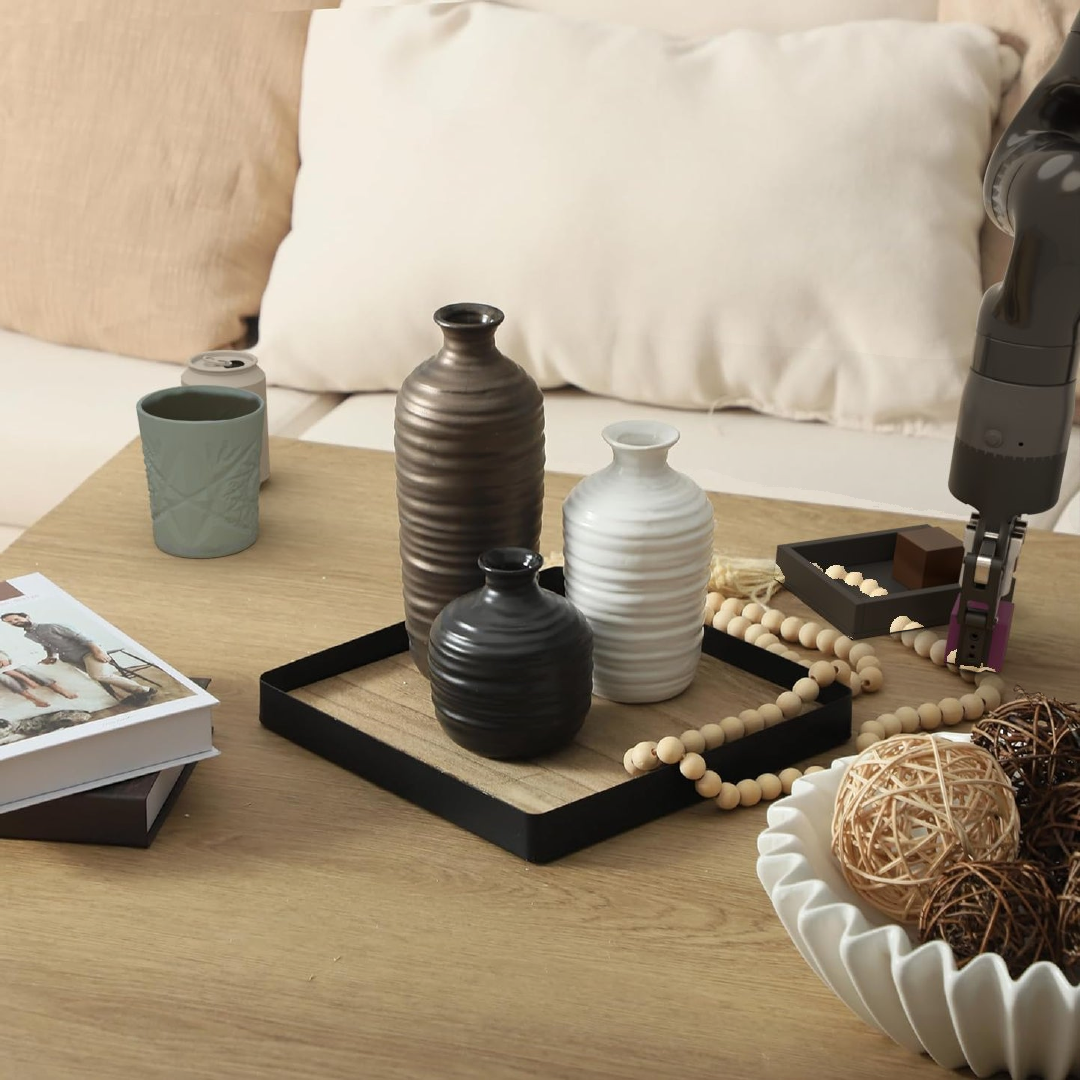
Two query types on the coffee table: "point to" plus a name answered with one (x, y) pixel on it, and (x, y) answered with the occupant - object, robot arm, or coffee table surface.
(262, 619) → the coffee table surface
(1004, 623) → the plum block
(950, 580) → the walnut block
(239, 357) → the can
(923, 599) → the tray
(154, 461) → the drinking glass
